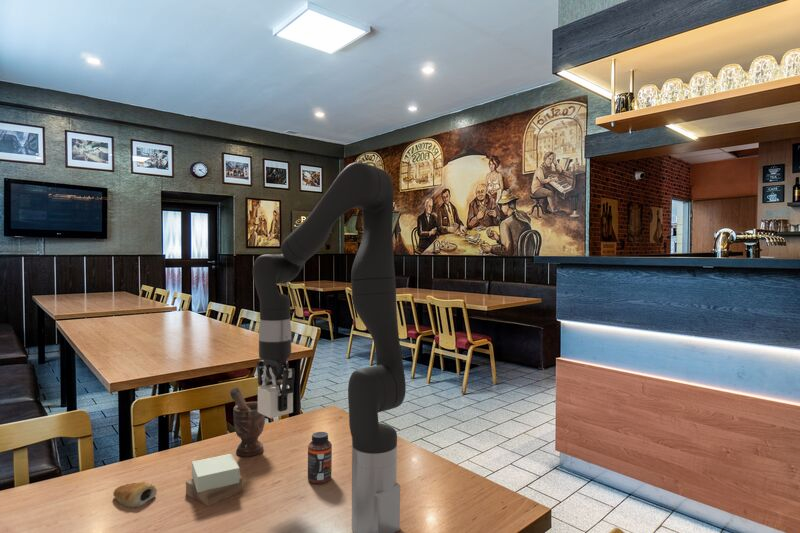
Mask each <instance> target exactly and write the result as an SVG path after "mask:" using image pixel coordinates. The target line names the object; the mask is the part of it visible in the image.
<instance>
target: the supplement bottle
mask: <svg viewBox="0 0 800 533" xmlns="http://www.w3.org/2000/svg"><path fill="white" fill-rule="evenodd" d="M332 448H333V445H332V442H331V441H329V433H328V432H326V431H316V432H314V433H313V432H312V434H311V441H310V442H309V443H308V445H307V480H308V481H309V482H311V484H320V485H321V484H324V483H327V482H329V481H330V480H331V479H332V473H333V472H332V468H333V467H332V466H333V465H332V462H333V460H332V457H333V456H332V455H333V454H332V452H333V449H332Z"/></svg>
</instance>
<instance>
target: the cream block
mask: <svg viewBox="0 0 800 533" xmlns="http://www.w3.org/2000/svg"><path fill="white" fill-rule="evenodd" d="M280 387H281V390H282V385H281V386H280ZM288 388H289V385H288ZM257 402H258V413H260V414H262V415H264V416H265V417H267V418H269V419H273V418H276V417H281V416H285V415H287V414H292V413H294V392H293V393H290V394H288V396H287V410H285V411H281V412H280V411H278V393H277V389H276V387H275V386H274V384H271V385H266V386H262V385H261V386H258V387H257Z"/></svg>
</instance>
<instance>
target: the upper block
mask: <svg viewBox="0 0 800 533" xmlns="http://www.w3.org/2000/svg"><path fill="white" fill-rule="evenodd" d="M239 476H240V466H239V464H238V462H237V461H236V460H235V458H234V456H233V454H232V453H228V454H223V455H218V456H214V457H208V458H203V459H198V460H192V461H191V477H192V478H191V479H193V481H194V484H195V486H196V489H197V492H202V491H206V490H211V489H215V488H219V487H223V486H228V485H232V484H236V483H239Z"/></svg>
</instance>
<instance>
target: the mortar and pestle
mask: <svg viewBox="0 0 800 533" xmlns="http://www.w3.org/2000/svg"><path fill="white" fill-rule="evenodd" d="M229 393H230V397H231V399H232V400H233V402H234V403H235V404H236V405H235V406H234V407H233V413H232V414H233V426H234V430H235V434H236V436H237V437H238V438H239V439H240V440H241V442H240V443H239V445H238V446H237V448H236V450H235V453H236V454H237V455H238V456H240V457H247V458H248V457H253V456H256V455H259V454H260V453H262V452H263V451H264V444H263V443H262V441H260V440H259V437H260V436H261V435H262V433H263V431H264V428H265V425H266V424H265V423H266V416H264V415H262V414H260V413H258V401H248V402H247V401H246V400H245V397H244V394H243V391H242V390H241V389H240V388H239V387H234V388H232V389H231V390H230V392H229Z"/></svg>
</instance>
